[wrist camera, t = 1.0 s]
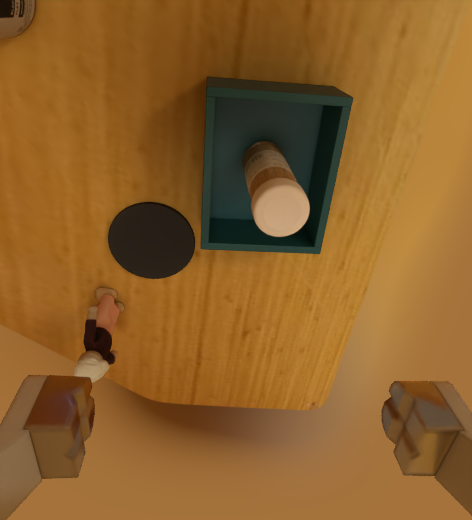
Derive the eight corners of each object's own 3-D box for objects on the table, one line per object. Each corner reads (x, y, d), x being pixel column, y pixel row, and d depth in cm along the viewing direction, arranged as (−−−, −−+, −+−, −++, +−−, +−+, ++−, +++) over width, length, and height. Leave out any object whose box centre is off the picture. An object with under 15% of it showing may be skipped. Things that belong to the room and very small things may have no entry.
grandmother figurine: (81, 287, 51) (46, 361, 40) (108, 276, 50) (80, 348, 39) (114, 329, 54) (90, 408, 44) (139, 320, 54) (121, 397, 43)
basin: (206, 76, 39) (206, 86, 34) (334, 86, 40) (353, 97, 35) (201, 223, 47) (200, 249, 42) (308, 227, 48) (320, 254, 43)
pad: (105, 199, 45) (104, 201, 44) (195, 204, 46) (195, 206, 45) (112, 275, 50) (111, 277, 50) (193, 278, 51) (193, 280, 50)
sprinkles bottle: (254, 188, 45) (269, 248, 33) (233, 153, 43) (242, 204, 31) (291, 167, 44) (320, 221, 32) (271, 130, 42) (295, 175, 30)
